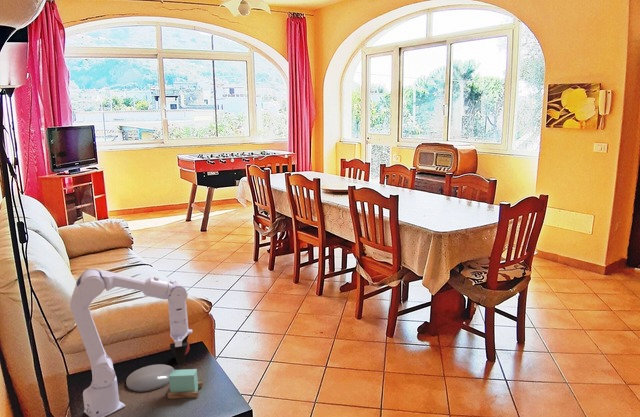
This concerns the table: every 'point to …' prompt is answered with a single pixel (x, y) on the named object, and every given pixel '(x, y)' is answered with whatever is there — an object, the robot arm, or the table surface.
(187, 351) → the onion
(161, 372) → the plate
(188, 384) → the tall mint rectangular block
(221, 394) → the table surface
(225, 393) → the table surface
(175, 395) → the brown wooden frame
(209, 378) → the table surface
